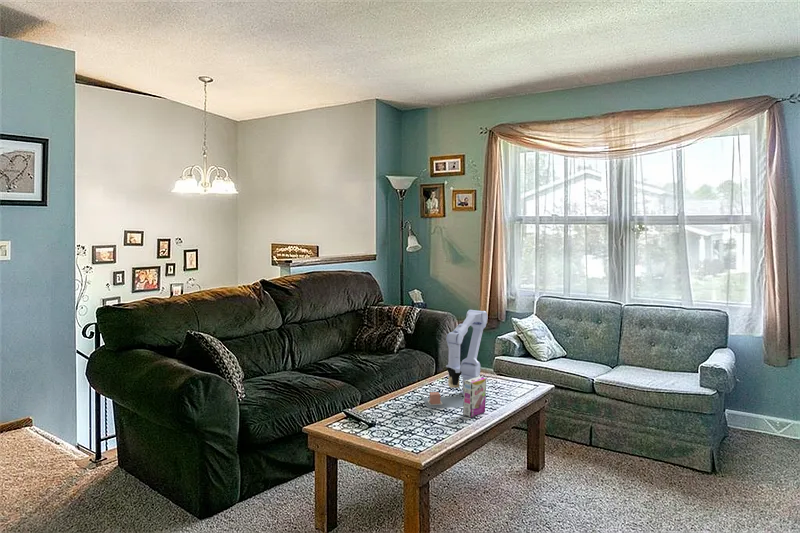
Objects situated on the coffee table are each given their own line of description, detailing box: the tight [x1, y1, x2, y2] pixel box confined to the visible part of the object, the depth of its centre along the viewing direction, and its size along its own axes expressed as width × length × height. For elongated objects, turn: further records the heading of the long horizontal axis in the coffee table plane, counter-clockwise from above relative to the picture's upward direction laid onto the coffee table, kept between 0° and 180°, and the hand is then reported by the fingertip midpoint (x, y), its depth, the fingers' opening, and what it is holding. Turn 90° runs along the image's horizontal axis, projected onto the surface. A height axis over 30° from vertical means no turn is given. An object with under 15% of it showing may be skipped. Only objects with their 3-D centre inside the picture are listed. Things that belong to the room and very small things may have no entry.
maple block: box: [447, 375, 460, 389], centre depth 274 cm, size 4×4×4 cm
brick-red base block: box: [429, 391, 441, 404], centre depth 273 cm, size 4×4×4 cm
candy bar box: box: [462, 376, 487, 418], centre depth 257 cm, size 11×5×16 cm, turn 134°
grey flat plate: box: [421, 395, 464, 409], centre depth 274 cm, size 20×16×1 cm
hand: (453, 383), depth 274 cm, fingers closed on maple block, 4 cm apart
